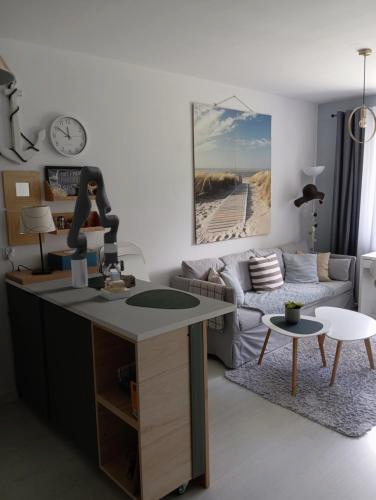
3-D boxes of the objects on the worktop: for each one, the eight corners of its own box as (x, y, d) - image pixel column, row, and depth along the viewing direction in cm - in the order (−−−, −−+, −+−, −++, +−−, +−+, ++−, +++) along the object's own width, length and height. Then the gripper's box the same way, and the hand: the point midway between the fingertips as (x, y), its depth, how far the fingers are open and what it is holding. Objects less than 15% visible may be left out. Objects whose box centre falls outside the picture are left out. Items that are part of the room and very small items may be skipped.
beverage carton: (136, 286, 248) (135, 276, 247) (104, 290, 242) (103, 279, 241) (133, 283, 256) (132, 273, 255) (102, 287, 249) (101, 276, 248)
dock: (101, 295, 228) (100, 288, 227) (120, 292, 234) (120, 285, 234) (110, 300, 217) (109, 292, 217) (130, 296, 224) (130, 289, 223)
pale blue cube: (110, 280, 225) (110, 273, 224) (117, 279, 227) (116, 272, 227) (113, 281, 222) (113, 274, 221) (120, 280, 224) (119, 273, 223)
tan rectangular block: (104, 287, 230) (104, 278, 230) (114, 285, 234) (114, 277, 233) (114, 291, 219) (113, 282, 218) (124, 290, 222) (124, 281, 221)
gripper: (120, 249, 232) (121, 276, 234) (96, 251, 224) (97, 280, 227) (125, 250, 226) (126, 279, 228) (100, 253, 218) (102, 282, 220)
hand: (111, 279), depth 227 cm, fingers open, 8 cm apart
